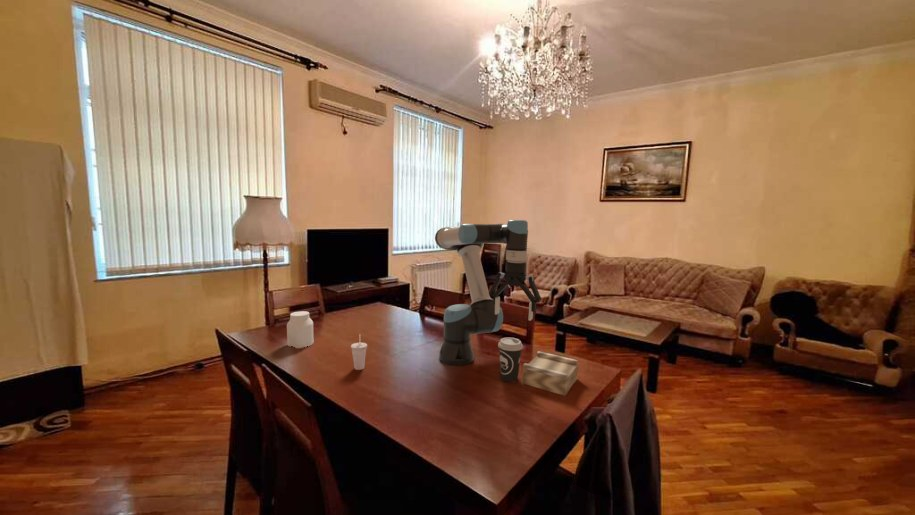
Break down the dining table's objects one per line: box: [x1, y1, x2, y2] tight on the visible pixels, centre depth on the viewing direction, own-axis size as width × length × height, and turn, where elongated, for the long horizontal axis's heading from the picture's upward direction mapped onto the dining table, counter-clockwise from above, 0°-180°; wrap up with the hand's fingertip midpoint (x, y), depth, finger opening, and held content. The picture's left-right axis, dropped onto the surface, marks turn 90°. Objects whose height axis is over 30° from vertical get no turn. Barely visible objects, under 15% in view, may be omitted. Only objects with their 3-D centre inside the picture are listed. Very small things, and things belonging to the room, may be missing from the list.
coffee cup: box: [497, 337, 524, 383], centre depth 134 cm, size 10×10×15 cm
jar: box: [286, 310, 315, 349], centre depth 165 cm, size 12×10×15 cm
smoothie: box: [350, 333, 368, 371], centre depth 140 cm, size 6×6×14 cm
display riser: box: [522, 351, 579, 397], centre depth 133 cm, size 16×16×8 cm
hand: (513, 316), depth 132 cm, fingers open, 13 cm apart
